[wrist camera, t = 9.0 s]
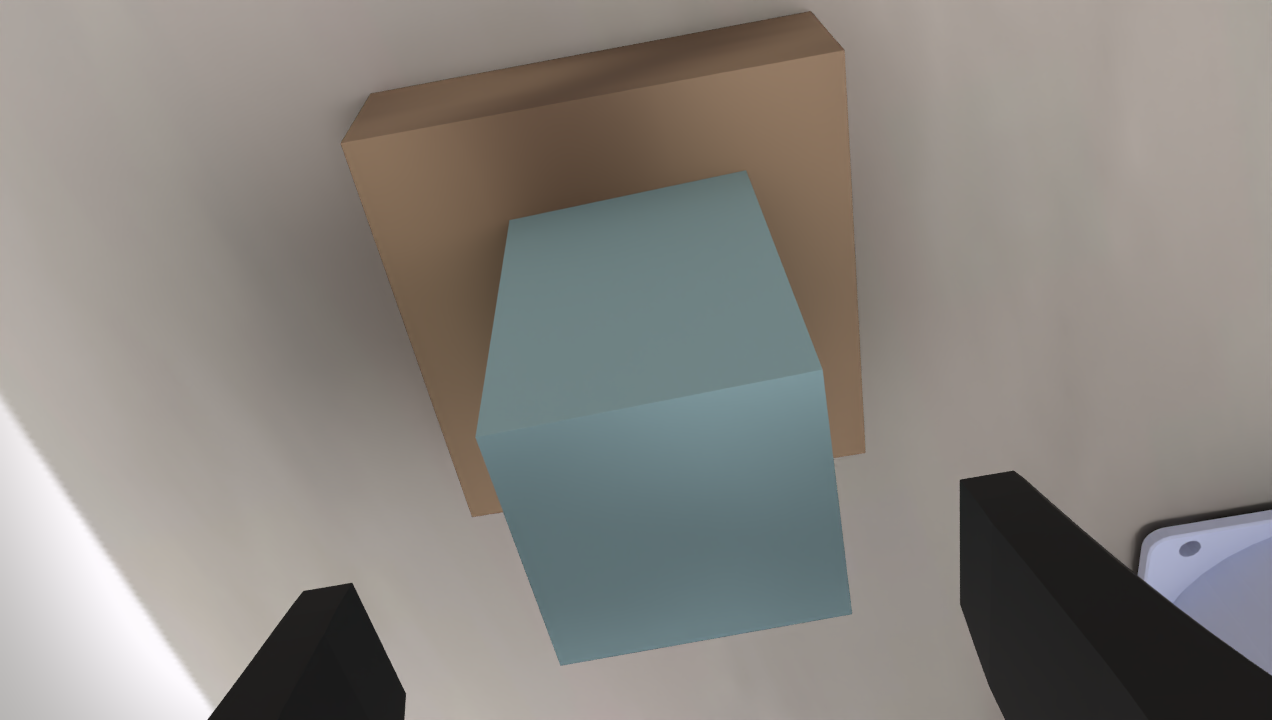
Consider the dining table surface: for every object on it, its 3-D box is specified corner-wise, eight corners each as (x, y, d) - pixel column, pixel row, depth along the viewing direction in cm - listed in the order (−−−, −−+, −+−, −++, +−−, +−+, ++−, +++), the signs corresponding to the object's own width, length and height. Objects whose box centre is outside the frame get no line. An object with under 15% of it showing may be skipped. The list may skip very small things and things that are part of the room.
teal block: (745, 170, 16) (822, 369, 11) (776, 369, 18) (851, 613, 13) (509, 220, 16) (475, 437, 11) (567, 410, 18) (560, 665, 13)
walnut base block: (805, 5, 17) (844, 49, 15) (832, 370, 22) (865, 452, 19) (374, 86, 18) (340, 143, 15) (484, 428, 22) (471, 517, 20)
